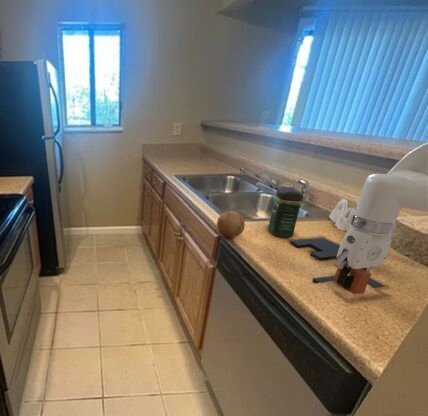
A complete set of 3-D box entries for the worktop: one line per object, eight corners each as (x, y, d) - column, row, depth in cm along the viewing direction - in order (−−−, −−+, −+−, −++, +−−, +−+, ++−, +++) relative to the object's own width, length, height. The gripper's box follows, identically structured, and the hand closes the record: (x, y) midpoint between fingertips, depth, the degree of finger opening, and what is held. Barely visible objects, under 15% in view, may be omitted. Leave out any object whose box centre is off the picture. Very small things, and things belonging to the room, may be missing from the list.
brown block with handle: (357, 275, 82) (366, 254, 79) (397, 297, 73) (407, 274, 70) (312, 281, 79) (318, 260, 77) (346, 305, 70) (355, 281, 67)
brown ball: (230, 244, 100) (234, 219, 97) (209, 233, 109) (212, 210, 105) (248, 238, 104) (253, 214, 101) (227, 228, 113) (231, 206, 109)
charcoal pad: (321, 240, 103) (322, 237, 102) (354, 256, 92) (355, 253, 91) (289, 243, 100) (290, 240, 100) (319, 260, 89) (320, 257, 89)
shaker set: (326, 220, 120) (334, 196, 116) (338, 221, 119) (346, 196, 115) (339, 231, 109) (348, 205, 105) (352, 232, 108) (361, 206, 104)
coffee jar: (295, 240, 103) (307, 193, 96) (271, 237, 105) (282, 191, 98) (287, 229, 111) (298, 185, 105) (265, 227, 114) (275, 184, 107)
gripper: (360, 233, 64) (336, 297, 70) (416, 227, 66) (388, 290, 73) (329, 220, 70) (310, 280, 77) (381, 215, 73) (359, 273, 80)
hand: (348, 284), depth 75 cm, fingers closed on brown block with handle, 3 cm apart
